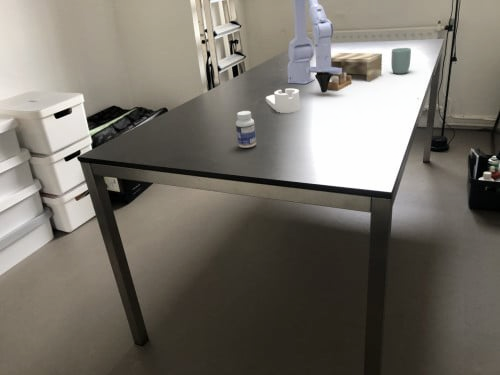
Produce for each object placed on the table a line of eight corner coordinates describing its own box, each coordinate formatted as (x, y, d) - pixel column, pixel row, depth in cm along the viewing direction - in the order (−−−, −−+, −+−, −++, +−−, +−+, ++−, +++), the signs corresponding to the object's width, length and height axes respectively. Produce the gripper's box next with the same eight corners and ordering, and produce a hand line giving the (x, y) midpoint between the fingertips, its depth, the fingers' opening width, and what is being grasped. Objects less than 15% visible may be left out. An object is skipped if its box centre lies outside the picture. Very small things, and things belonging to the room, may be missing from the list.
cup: (410, 74, 188) (412, 50, 184) (391, 75, 190) (392, 51, 186) (408, 70, 195) (409, 47, 191) (390, 71, 197) (391, 48, 193)
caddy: (326, 90, 179) (326, 76, 176) (340, 83, 187) (340, 69, 184) (337, 91, 176) (337, 76, 173) (351, 84, 184) (351, 70, 181)
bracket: (303, 110, 157) (302, 92, 154) (280, 114, 155) (278, 96, 152) (285, 98, 174) (284, 81, 172) (264, 102, 173) (263, 85, 170)
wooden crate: (326, 79, 196) (326, 58, 192) (340, 73, 204) (339, 52, 200) (369, 81, 184) (369, 59, 180) (381, 75, 192) (381, 53, 188)
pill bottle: (237, 142, 133) (234, 111, 129) (255, 140, 133) (252, 109, 129) (238, 149, 128) (235, 116, 124) (257, 146, 128) (254, 114, 124)
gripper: (301, 57, 169) (303, 93, 174) (335, 58, 160) (335, 95, 166) (311, 54, 173) (312, 88, 179) (344, 55, 165) (344, 91, 170)
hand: (324, 91), depth 173 cm, fingers closed
